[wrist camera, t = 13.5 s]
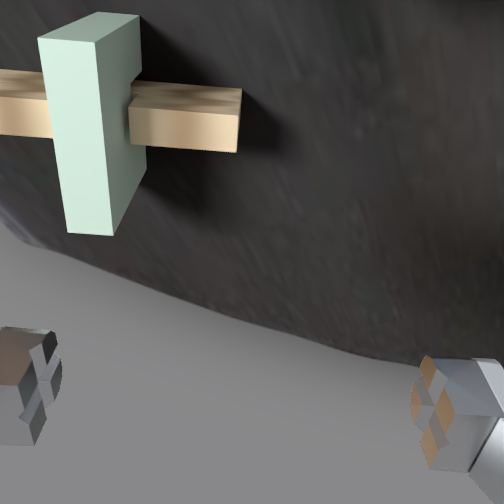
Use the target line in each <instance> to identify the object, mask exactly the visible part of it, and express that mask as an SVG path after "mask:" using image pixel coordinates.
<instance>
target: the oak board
mask: <svg viewBox="0 0 504 504" xmlns="http://www.w3.org/2000/svg"><path fill="white" fill-rule="evenodd" d="M130 84H131V100H132V103H131V104H130V105H129V106H128V112H129V128H130V143H131V144H134V145H147V146H160V147H172V148H185V149H198V150H211V151H224V152H236V150H237V142H238V133H239V125H240V112H241V96H242V89H236V88H224V87H212V86H200V85H187V84H175V83H163V82H150V81H138V80H133V81H132V82H131V83H130ZM0 134H5V135H18V136H31V137H44V138H53V134H52V128H51V121H50V115H49V108H48V102H47V96H46V89H45V83H44V77H43V73H40V72H28V71H15V70H3V69H0Z"/></svg>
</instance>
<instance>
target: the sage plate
mask: <svg viewBox="0 0 504 504" xmlns="http://www.w3.org/2000/svg"><path fill="white" fill-rule="evenodd" d="M38 45H39V51H40V57H41V64H42V70H43V77H44V83H45V89H46V96H47V102H48V108H49V115H50V121H51V128H52V134H53V140H54V147H55V153H56V160H57V166H58V172H59V179H60V185H61V192H62V198H63V204H64V211H65V217H66V223H67V230H68V232H70V233H84V234H98V235H112V236H113V235H114V233H115V231H116V229H117V227H118V225H119V223H120V221H121V219H122V217H123V215H124V213H125V211H126V209H127V207H128V205H129V203H130V201H131V199H132V197H133V195H134V193H135V191H136V189H137V187H138V185H139V183H140V181H141V179H142V177H143V175H144V173H145V171H146V169H147V166H146V146H145V145H134V144H131V143H130V128H129V112H128V106H129V105H130V104H131V103H132V100H131V84H130V83H131V82H132V81H133V80H134V79H135V78H136V77H137V75H138V74H139V73H140V72H141V71H142V62H141V41H140V21H139V15H129V14H117V13H105V12H96V13H94V14H92V15H89V16H87V17H85V18H82V19H80V20H78V21H75V22H73V23H71V24H68V25H66V26H64V27H61V28H59V29H57V30H54V31H52V32H50V33H47V34H45V35H43V36H40V37H38Z"/></svg>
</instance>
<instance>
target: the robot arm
mask: <svg viewBox="0 0 504 504" xmlns="http://www.w3.org/2000/svg"><path fill="white" fill-rule="evenodd" d="M57 345H58V343H57V339H56V335H55V333H54V332H53V331H49V330H38V329H27V328H15V327H0V445H17V446H34V445H35V443H36V441H37V439H38V437H39V435H40V433H41V430H42V428H43V426H44V424H45V422H46V419H47V418H46V414H45V408H46V407H48V406H49V405H51V404H52V403H53V402H54V401H55V399H56V397H57V394H58V392H59V389H60V385H61V380H62V363H61V359H60V358H59V357H58V356H57V355H56V354H55V353H54V350H55V349H56V347H57ZM420 370H421V373H422V377H421V378H419V379H418V380H416V381H415V382H414V384H413V387H412V391H411V397H410V407H411V414H412V417H413V421H414V424H415V425H416V426H417V427H418V428H419V429H420V430H421V431H422V432H423V433H424V434H423V436H422V439H421V441H420V443H421V446H422V449H423V452H424V455H425V458H426V461H427V464H428V467H429V469H430V470H440V471H450V472H462V473H469V476H470V477H471V478H472V479H473V481H474V482H475V483H476V484H477V485H478V486H479V487H480V489H481V490H482V491H483V492H484V493H485V494H486V495H487V496H488V498H489V499H490V500H491V501H492V502H493V503H494V504H504V370H503V368H502V366H501V364H500V363H499V362H498V361H496V360H495V359H481V358H471V359H470V358H460V357H443V356H426V357H425V358H424V359H423V361H422V363H421V366H420Z"/></svg>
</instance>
